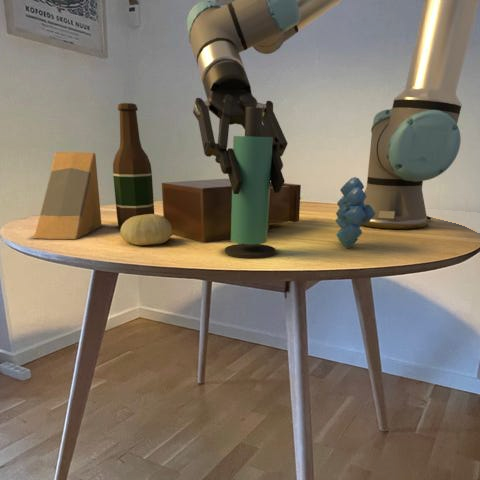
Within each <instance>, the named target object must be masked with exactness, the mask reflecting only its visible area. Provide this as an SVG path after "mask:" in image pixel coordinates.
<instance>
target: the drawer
mask: <svg viewBox="0 0 480 480" xmlns="http://www.w3.org/2000/svg"><path fill="white" fill-rule="evenodd" d="M301 189H302V184H297V183H287V182H284V184H283V186H282V188H281V190H280V192H279V193H274V190H273V187H272V184H271V181H270V222H269V225H273V224H279V223H288V222H291V223H299V222H300V209H301V199H302V198H301Z"/></svg>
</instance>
